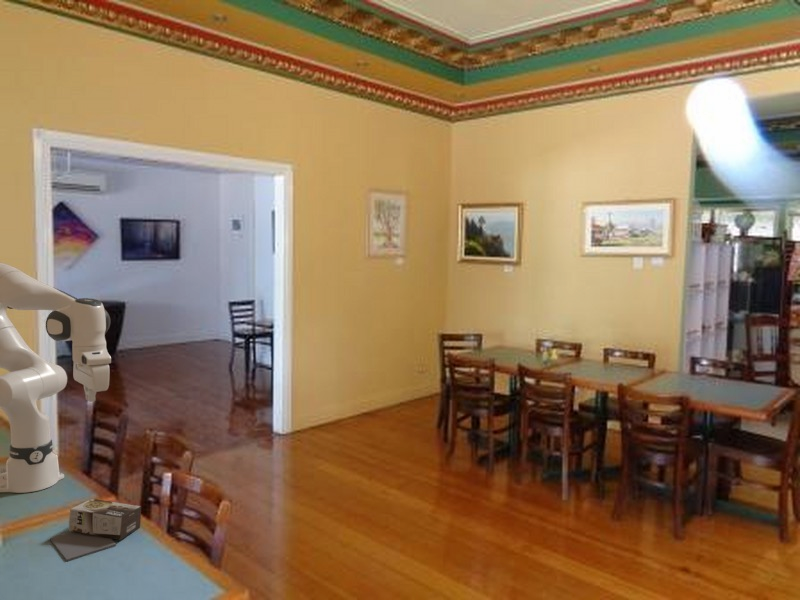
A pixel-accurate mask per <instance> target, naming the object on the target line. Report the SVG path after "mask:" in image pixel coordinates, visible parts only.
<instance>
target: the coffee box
mask: <svg viewBox="0 0 800 600" xmlns="http://www.w3.org/2000/svg"><path fill="white" fill-rule="evenodd" d="M141 513H142V506H141V505H135V504H129V503H121V502H115V501H109V500H104V499H103V500H102V499H98V498H97V499H96V498H91V499H88V500H86V501H84V502H82V503H80V504H78V505H76V506H74V507H72V508H70V509H69V518H68V520H69V521H68V531H69V532H72V531H75V532H80V533H85V534H91V535H97V536H102V537H107V538H111V539H112V540H113V539H114V540H119V541H121V540H123V539H125V538H126V537H128V536H129V535H131V534H133V533H134V532H135V531H137V530H138V529H140V528H141V517H142V516H141V515H142V514H141Z"/></svg>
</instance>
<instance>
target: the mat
mask: <svg viewBox="0 0 800 600" xmlns="http://www.w3.org/2000/svg"><path fill="white" fill-rule="evenodd" d="M49 540H50V542H51V543H52V544H53V546H54V547H55V548H56V549H57V550H58V552H59V553H60V554H61V556H62V557H63V559H64V560H65V561H66V562H70V561H72V560H76V559H79V558H83V557H85V556H89V555H91V554H95V553H98V552H101V551H105V550H106V549H110V548H113V547H114V548H115V547H116V546H117V543H116V542H115V541H114V540H113V538H107V537H102V536H97V535H91V534H85V533H80V532H75V531H69V532H65V533H62V534H58V535H55V536H52V537H49Z"/></svg>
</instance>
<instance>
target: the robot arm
mask: <svg viewBox="0 0 800 600" xmlns="http://www.w3.org/2000/svg"><path fill="white" fill-rule="evenodd" d="M7 309H10V310H14V309H15V310H19V311H50V312H49V314H48V315H47V317H46V319H45V331H46V333H47V334H48V336H49V337H50V338H51V339H52V340H53V341H56V342H69V341H72V346H71V347H72V348H71V350H72V362H73V364H72V365H73V371H72V372H73V373H72V374H73V375H72V376H73V379H74V381H75V382H78V383H79V384H82V385H83V390H84V395H85V400H86V401H88V402H89V403H91V402H92V403H93V402H95V401H96V398H97V397H96V395H97V392H98V393H99V392H106V391H108V389H109V386H110V374H111V373H110V370H111V369H110V365H109V364H111V363H112V357H111V355H110V354H109V352H108V349H107V340H106V336H105V335H106V333H107V332H108V330H109V329H110V326H111V317H110V314H109V312H108V311H107V310H106V309H105V307H104V304H103V302H101V301H100V300H98V299H95V298H89V297H86V298H85V297H82V298H81V297H80V298H77V297H75V296H73V295H72V294H69V293H67V292H65V291H63V290H61V289H58V288H55V287H54V286H51V285H49V284H47V283H44V282H41V281H39V280H38V279H36V278H34V277H32V276H30V275H28V274H26V273H25V272H23V271H22V270H20V269H19V268H16V267H14V266H12V265H10V264H7V263H3V262H0V369H4V370H6V371H8V372H6V373H4V374H1V375H0V409H1V410H2V411H3V412H4V414H5V415H6V418H7V419H8V422H9V428H10V441H11V443H10V446H9V451H8V452H9V457H8V459H7V460H6V462H5V464H6V465H0V493H15V494H16V493H18V494H20V493H22V494H23V493H24V494H25V493H31V492H37V491H41V490H44V489H47V488H50V487H52V486H54V485H55V484H57V483H58V482H59V481H61V480H62V479H64V478H65V474H64V473H62V472H60V468H59V467H60V466H59V457H58V455H57V454H56V453H54V452H53V450H54V449H53V447H54V444H53V440H52V438H51V419H50V416H49V415H47V414H46V413H45V412H44V413H43V412H42V411H40V410H39V408H38V404H37V401H39V400H42V399H46V398H49V397H52V396H54V395H55V394H56V395H57V394H58V393H59V392H61V391H63V390H64V389H65V388H66V387H67V383H68V375H67V372H66V370H65V369H64V368H63V366H60V365H58V364H56V363H52V362H50V361H48V360H47V359H44V358H43V357H42V356H41V355H39V354H38V353H36V352H35V351H33V350H32V349H31V348H30V346H28V344H27V343H26V341H25V340H24V338H23V337H22V336H21V334H20V333H19V331H18V330H17V328H16V327H15V325H14V323H12V321H11V319H10V318H9V316H8V315H7Z"/></svg>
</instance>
